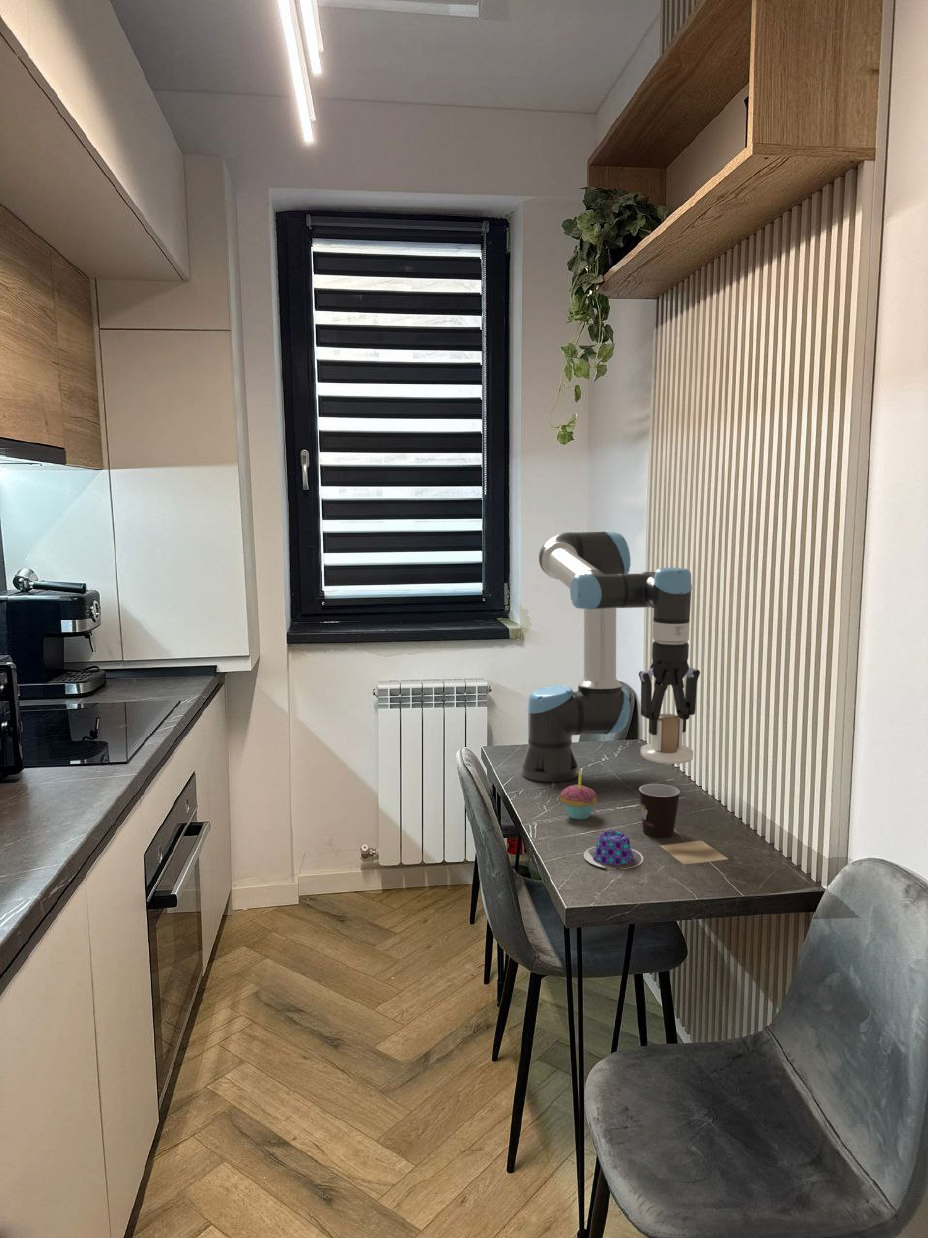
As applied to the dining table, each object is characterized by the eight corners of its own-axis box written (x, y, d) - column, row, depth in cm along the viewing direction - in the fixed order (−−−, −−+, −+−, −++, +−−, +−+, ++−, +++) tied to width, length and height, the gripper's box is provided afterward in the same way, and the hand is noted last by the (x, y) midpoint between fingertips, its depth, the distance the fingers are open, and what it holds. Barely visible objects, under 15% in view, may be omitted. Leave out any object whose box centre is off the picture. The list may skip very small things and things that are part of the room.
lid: (631, 750, 185) (632, 711, 184) (676, 746, 188) (677, 708, 187) (656, 765, 175) (657, 725, 174) (703, 761, 178) (704, 721, 177)
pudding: (618, 878, 163) (618, 852, 163) (571, 859, 172) (571, 834, 172) (655, 861, 171) (655, 836, 171) (608, 843, 180) (609, 820, 180)
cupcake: (600, 822, 192) (601, 771, 190) (563, 823, 192) (563, 771, 190) (592, 808, 200) (593, 760, 199) (557, 809, 200) (557, 760, 198)
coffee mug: (679, 843, 180) (680, 798, 178) (638, 840, 181) (639, 795, 180) (676, 823, 191) (678, 780, 190) (638, 820, 193) (639, 778, 191)
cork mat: (659, 847, 177) (659, 845, 177) (701, 842, 180) (701, 840, 180) (684, 866, 168) (684, 864, 168) (728, 860, 170) (728, 859, 170)
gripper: (641, 646, 172) (638, 756, 176) (716, 642, 177) (711, 749, 180) (625, 640, 179) (622, 746, 183) (697, 636, 184) (693, 739, 187)
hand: (666, 747), depth 181 cm, fingers closed on lid, 4 cm apart
